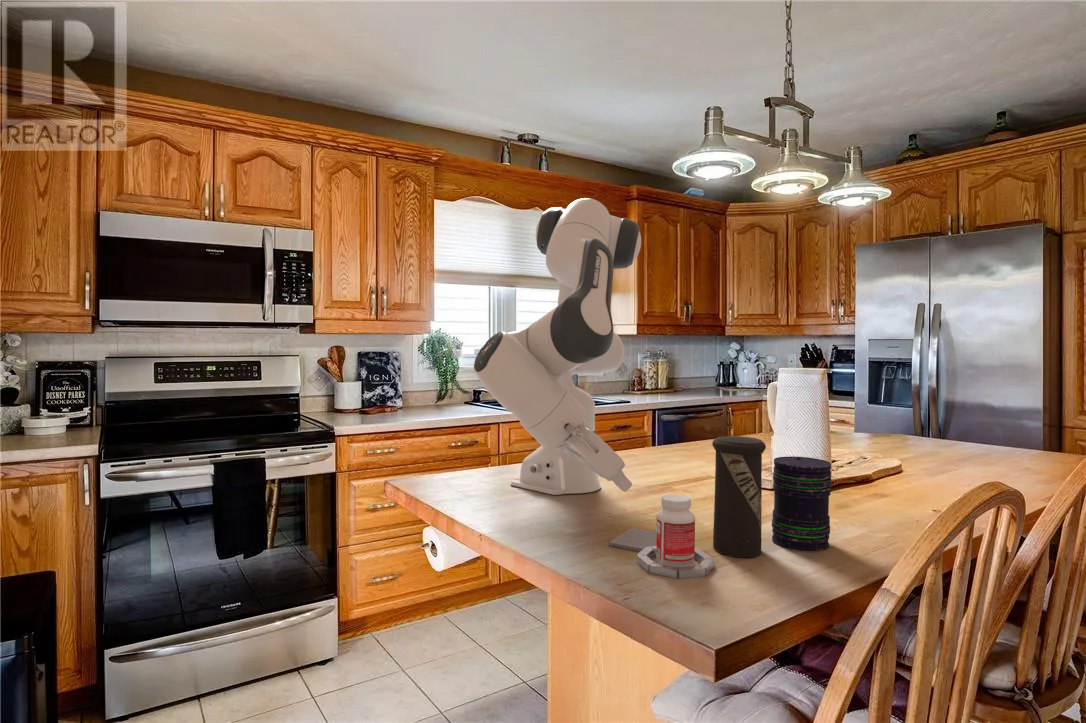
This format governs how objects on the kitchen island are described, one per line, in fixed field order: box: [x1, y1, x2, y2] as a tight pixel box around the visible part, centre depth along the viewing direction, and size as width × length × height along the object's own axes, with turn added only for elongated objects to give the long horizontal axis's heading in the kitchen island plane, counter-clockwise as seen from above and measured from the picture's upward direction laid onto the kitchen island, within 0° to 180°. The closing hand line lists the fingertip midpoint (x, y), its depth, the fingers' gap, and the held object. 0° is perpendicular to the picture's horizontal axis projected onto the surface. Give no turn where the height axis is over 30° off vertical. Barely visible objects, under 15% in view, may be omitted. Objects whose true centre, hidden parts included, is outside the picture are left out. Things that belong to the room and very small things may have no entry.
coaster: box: [608, 527, 657, 553], centre depth 113 cm, size 10×10×1 cm
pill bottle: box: [655, 494, 696, 567], centre depth 102 cm, size 6×6×11 cm
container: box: [711, 435, 767, 558], centre depth 109 cm, size 9×9×20 cm
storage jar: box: [771, 456, 832, 553], centre depth 113 cm, size 10×10×15 cm
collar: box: [636, 546, 715, 579], centre depth 102 cm, size 12×12×1 cm
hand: (616, 480), depth 99 cm, fingers open, 8 cm apart
